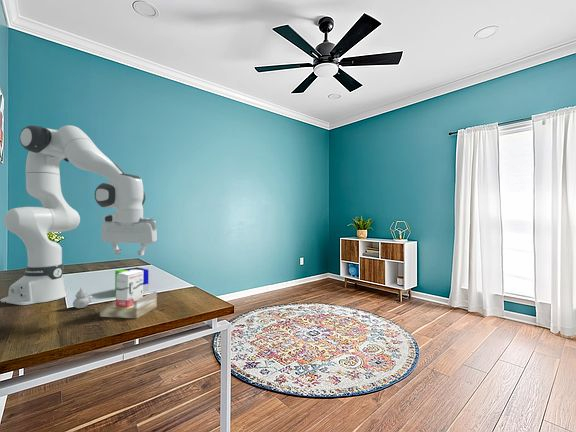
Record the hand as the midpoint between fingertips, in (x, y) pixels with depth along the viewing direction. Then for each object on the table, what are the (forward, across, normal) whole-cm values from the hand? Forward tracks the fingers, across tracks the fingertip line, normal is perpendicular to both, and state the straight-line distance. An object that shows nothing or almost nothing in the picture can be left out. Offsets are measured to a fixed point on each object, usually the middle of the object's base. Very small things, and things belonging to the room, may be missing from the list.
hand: (129, 254), depth 104 cm
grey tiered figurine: (+22, +20, -2) cm, 30 cm away
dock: (+21, -1, 0) cm, 21 cm away
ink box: (+18, -1, 0) cm, 18 cm away
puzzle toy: (+22, +16, -25) cm, 37 cm away
